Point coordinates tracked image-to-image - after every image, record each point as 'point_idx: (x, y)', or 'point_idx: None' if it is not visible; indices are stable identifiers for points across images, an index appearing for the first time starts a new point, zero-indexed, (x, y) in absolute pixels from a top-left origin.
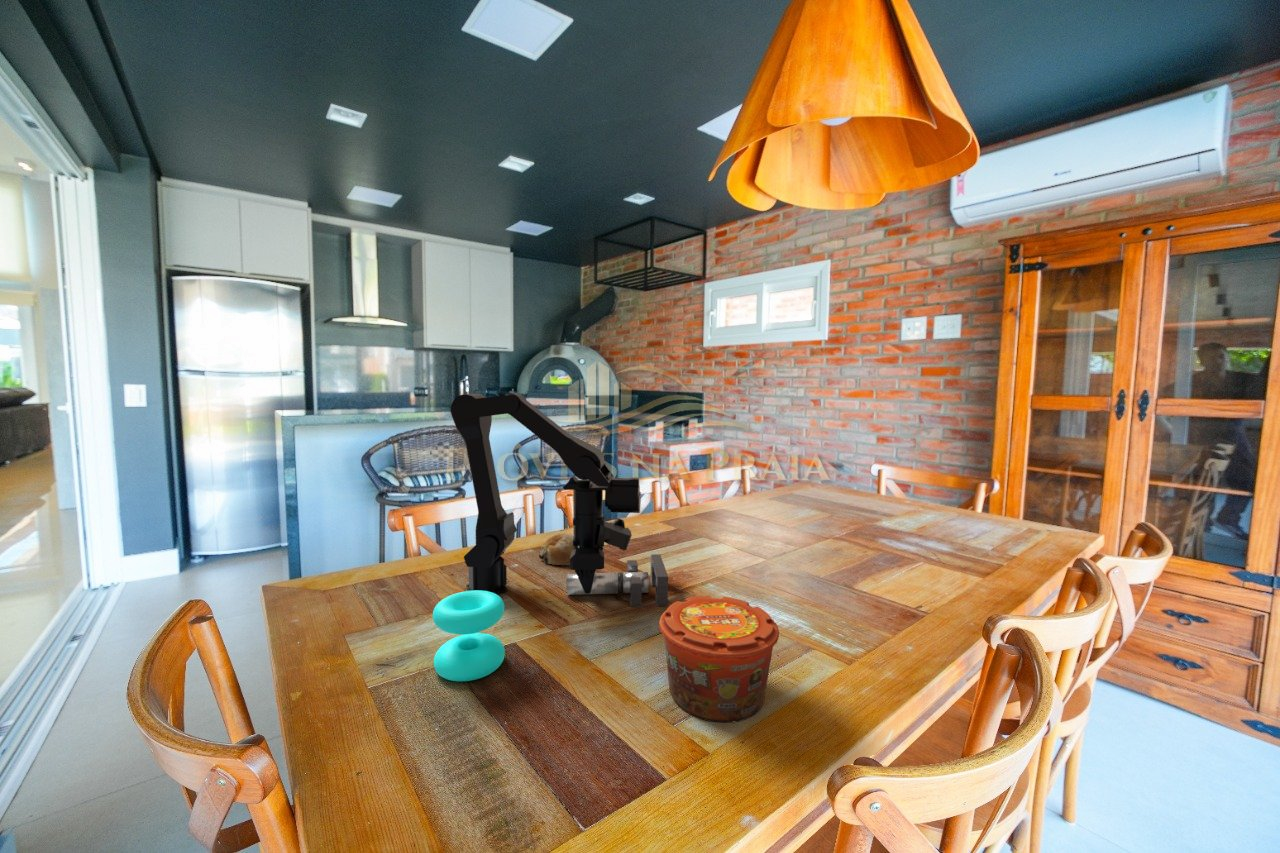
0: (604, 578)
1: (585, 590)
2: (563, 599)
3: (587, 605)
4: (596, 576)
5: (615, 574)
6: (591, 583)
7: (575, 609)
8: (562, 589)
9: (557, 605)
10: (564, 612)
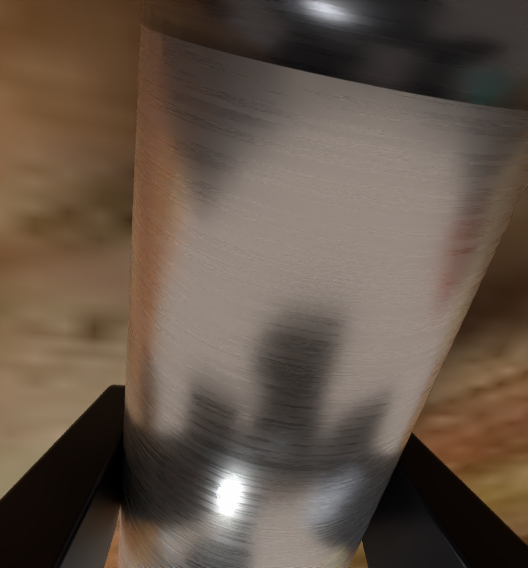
0: (432, 374)
1: None
2: None
3: (481, 389)
4: (357, 490)
5: (448, 172)
6: (477, 509)
7: (506, 462)
8: None
9: None
10: (514, 514)
